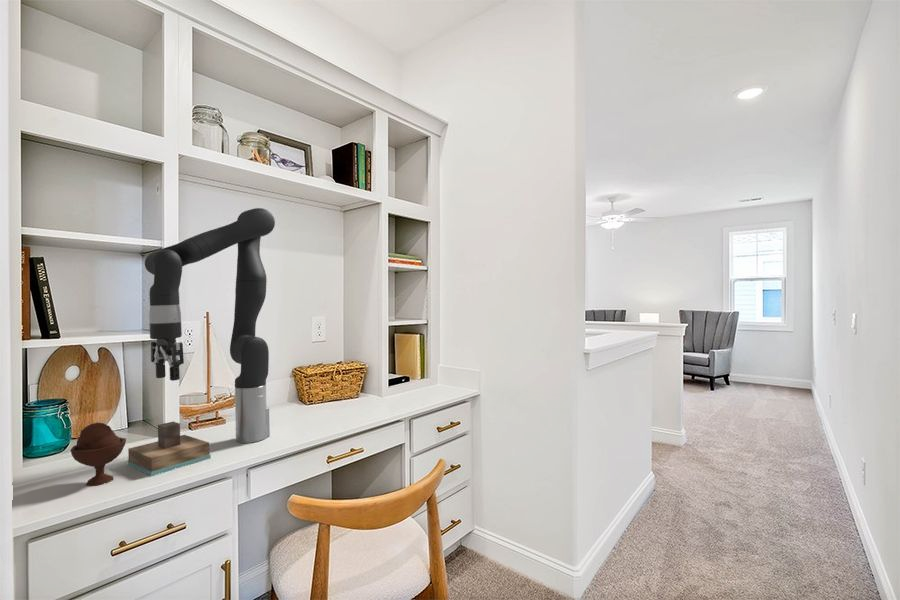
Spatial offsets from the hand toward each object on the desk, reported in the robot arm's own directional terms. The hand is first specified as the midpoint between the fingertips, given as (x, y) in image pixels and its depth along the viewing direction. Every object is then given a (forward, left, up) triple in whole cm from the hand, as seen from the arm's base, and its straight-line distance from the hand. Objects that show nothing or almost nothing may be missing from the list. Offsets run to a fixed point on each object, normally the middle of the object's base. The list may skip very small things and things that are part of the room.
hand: (167, 378), depth 124 cm
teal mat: (0, 0, -23) cm, 23 cm away
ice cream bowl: (+16, 0, -23) cm, 28 cm away
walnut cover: (0, 0, -22) cm, 22 cm away
